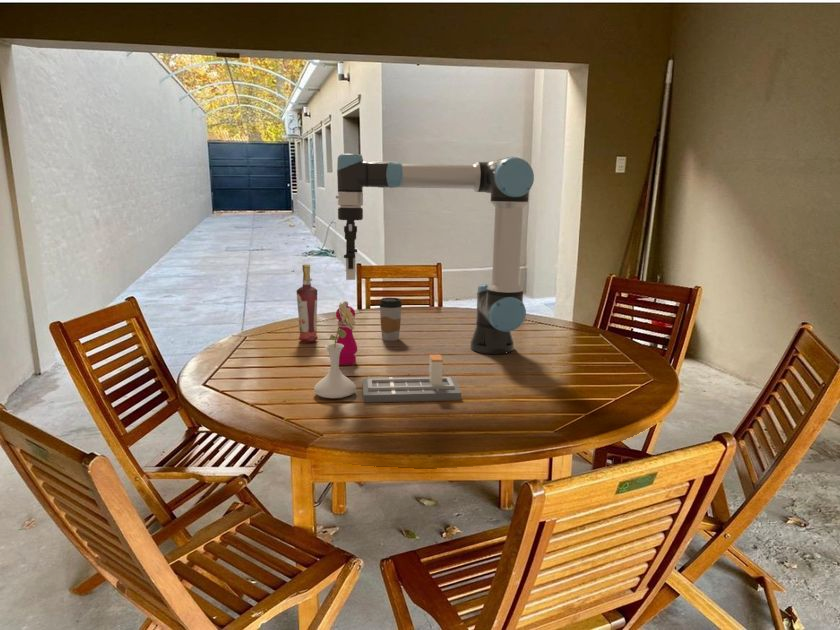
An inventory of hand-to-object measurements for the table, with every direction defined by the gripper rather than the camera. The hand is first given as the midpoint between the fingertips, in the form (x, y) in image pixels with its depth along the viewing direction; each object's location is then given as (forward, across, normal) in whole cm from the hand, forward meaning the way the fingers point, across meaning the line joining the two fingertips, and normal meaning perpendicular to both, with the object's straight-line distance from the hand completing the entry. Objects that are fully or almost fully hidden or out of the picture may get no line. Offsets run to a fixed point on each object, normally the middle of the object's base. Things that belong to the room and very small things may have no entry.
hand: (351, 276), depth 179 cm
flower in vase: (+28, +29, -4) cm, 40 cm away
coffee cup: (+28, -28, +14) cm, 42 cm away
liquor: (+28, -26, -16) cm, 42 cm away
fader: (+26, +29, +23) cm, 45 cm away
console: (+28, +28, +16) cm, 43 cm away
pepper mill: (+28, 0, -2) cm, 28 cm away
